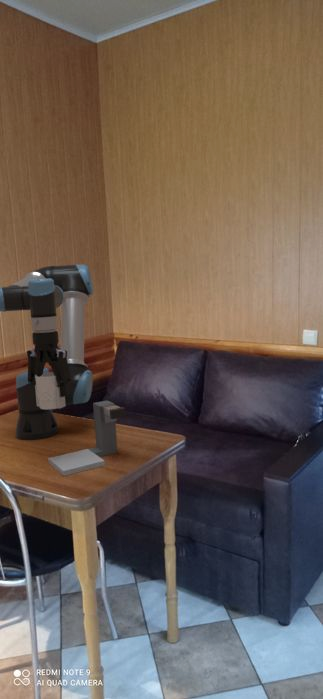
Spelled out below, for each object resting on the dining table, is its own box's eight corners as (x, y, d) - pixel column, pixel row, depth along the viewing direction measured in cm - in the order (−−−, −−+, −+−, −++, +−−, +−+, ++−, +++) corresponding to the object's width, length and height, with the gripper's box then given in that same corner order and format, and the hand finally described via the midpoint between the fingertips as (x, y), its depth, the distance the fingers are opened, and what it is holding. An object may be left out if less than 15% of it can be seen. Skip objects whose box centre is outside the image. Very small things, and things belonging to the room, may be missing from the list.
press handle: (101, 421, 165) (100, 405, 165) (114, 419, 168) (113, 402, 167) (113, 428, 159) (111, 410, 158) (126, 425, 161) (125, 408, 160)
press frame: (48, 462, 164) (44, 412, 161) (110, 447, 174) (107, 400, 172) (63, 476, 153) (59, 422, 150) (128, 459, 163) (125, 408, 160)
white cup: (47, 403, 166) (44, 371, 165) (69, 404, 163) (66, 372, 162) (32, 409, 159) (29, 376, 158) (54, 410, 156) (52, 377, 155)
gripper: (10, 332, 160) (17, 406, 163) (63, 332, 150) (69, 411, 153) (28, 329, 166) (34, 401, 169) (80, 329, 156) (85, 405, 159)
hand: (51, 406), depth 161 cm, fingers closed on white cup, 7 cm apart
